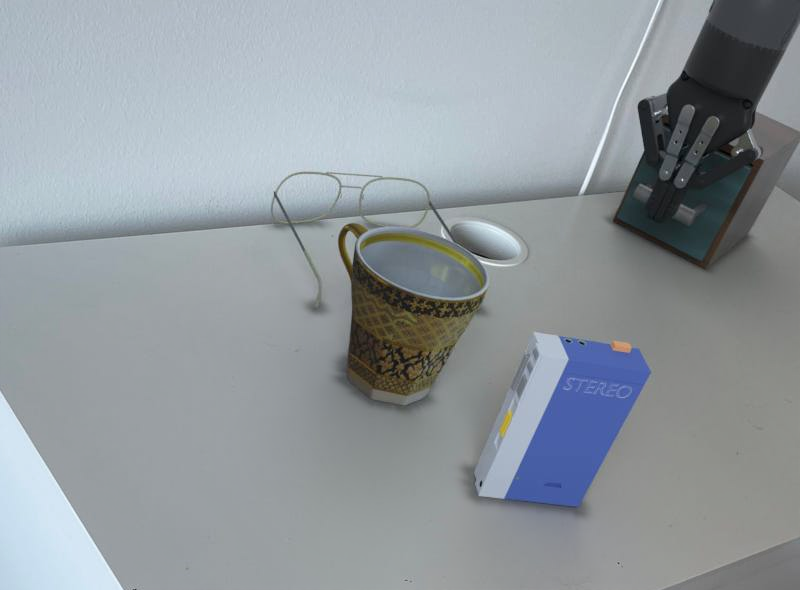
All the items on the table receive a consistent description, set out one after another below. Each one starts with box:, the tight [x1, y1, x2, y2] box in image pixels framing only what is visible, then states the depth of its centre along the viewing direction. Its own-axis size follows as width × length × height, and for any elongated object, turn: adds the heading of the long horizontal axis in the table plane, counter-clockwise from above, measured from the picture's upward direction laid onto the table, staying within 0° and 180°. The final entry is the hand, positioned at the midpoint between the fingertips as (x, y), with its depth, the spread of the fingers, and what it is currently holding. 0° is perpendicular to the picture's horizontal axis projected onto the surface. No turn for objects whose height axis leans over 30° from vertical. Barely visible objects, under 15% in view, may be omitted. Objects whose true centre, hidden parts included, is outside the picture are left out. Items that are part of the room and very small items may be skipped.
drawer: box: [617, 124, 753, 261], centre depth 105 cm, size 19×10×10 cm, turn 143°
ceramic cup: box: [337, 222, 491, 407], centre depth 75 cm, size 13×10×10 cm
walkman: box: [473, 331, 652, 508], centre depth 68 cm, size 8×3×12 cm, turn 95°
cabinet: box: [612, 108, 800, 270], centre depth 108 cm, size 15×12×12 cm
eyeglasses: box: [270, 170, 485, 311], centre depth 88 cm, size 16×15×5 cm
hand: (655, 218), depth 99 cm, fingers closed
